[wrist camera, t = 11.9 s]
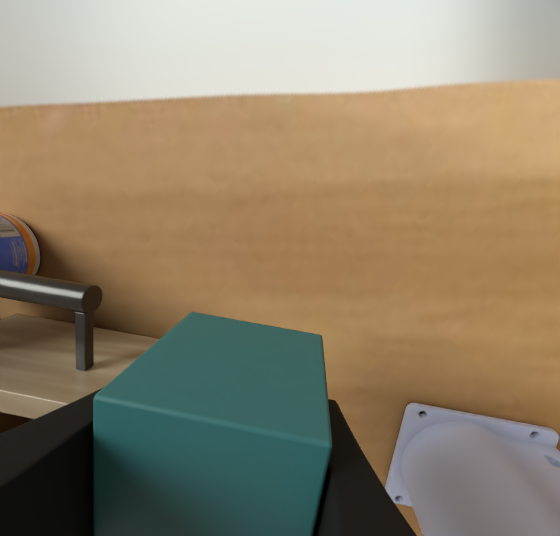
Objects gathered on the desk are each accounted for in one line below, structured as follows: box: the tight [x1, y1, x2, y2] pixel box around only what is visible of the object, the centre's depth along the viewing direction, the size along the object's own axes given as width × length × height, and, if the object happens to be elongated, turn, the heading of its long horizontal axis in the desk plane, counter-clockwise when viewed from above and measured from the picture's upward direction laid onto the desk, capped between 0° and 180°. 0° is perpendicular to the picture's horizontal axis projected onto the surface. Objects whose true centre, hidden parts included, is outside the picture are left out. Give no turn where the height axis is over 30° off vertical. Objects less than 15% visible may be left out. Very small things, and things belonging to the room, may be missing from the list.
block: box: [93, 312, 332, 536], centre depth 8 cm, size 4×4×4 cm
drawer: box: [0, 269, 159, 433], centre depth 17 cm, size 18×11×7 cm, turn 172°
